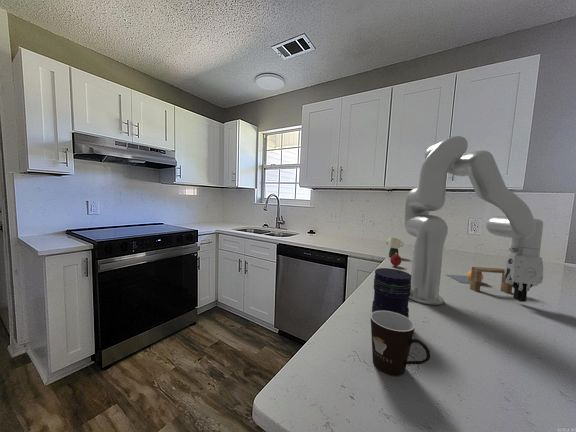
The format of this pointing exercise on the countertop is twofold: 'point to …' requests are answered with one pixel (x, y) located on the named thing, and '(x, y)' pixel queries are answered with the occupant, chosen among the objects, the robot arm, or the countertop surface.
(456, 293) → the countertop surface
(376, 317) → the coffee mug
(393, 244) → the character mug
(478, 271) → the bridge
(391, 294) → the storage jar
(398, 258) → the onion
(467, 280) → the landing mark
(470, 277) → the ball
